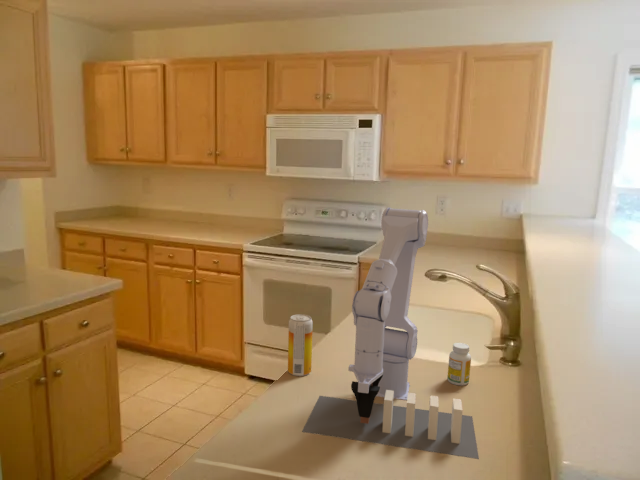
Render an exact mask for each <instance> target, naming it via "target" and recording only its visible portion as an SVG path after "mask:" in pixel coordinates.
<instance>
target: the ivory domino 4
mask: <svg viewBox="0 0 640 480" xmlns="http://www.w3.org/2000/svg"><path fill="white" fill-rule="evenodd" d="M451 405H452V406H451V414H452V418H451V442H452V443H459V444H460V435H461V423H462V415H463V403H462V399H460V398H454V397H453V398H452V404H451Z"/></svg>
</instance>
